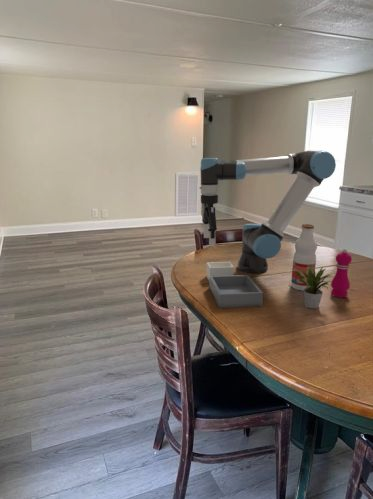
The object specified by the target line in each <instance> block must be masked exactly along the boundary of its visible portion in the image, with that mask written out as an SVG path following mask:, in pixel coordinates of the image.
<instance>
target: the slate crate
mask: <svg viewBox="0 0 373 499" xmlns="http://www.w3.org/2000/svg"><path fill="white" fill-rule="evenodd" d="M208 283H209V287H208V288H209V290H210V293H211V294H212V297H213V299H214V300H215V302H216V304H217V307H218V309H224V308H225V309H228V308H248V307H250V308H252V307H253V308H255V307H263V300H264V292H263V291H262V290H261V289H260V287H258V285H257V284H256V283H255V281H254V280H253V279H252V278H251V277H250V276H249V275H248V274H241V275H239V274H236V275H231V276H210V277H209V280H208Z"/></svg>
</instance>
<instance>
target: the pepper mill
mask: <svg viewBox="0 0 373 499" xmlns="http://www.w3.org/2000/svg"><path fill="white" fill-rule="evenodd" d="M352 259H353V257H352V255H351V254H350V253H348V250H347V249H346V248H343V249H342V252H338V253H337V255H336V257H335V261H336V264H335V267H336V272H335V274H334V276H333V277H332V280H331V281H333V282H330V286H331V288H332V289H331V291H330V294H331V296H333V295H334V296H333V297H335V296H337V297H336V298H339V297H345V298H346V296H347V297H348V293H349V292H348V290H349V289H350V286H351V282H350V280H349V276H348V270H349V269H350V264H351V263H352Z"/></svg>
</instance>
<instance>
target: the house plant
mask: <svg viewBox="0 0 373 499" xmlns="http://www.w3.org/2000/svg"><path fill="white" fill-rule="evenodd" d="M301 271H302V270H301ZM325 271H326V268H324V269H323V266H322V267H321V268H320V269H319V270H318V272H317V273H316V268H315V269H314V266H313V273H312V271H311V269H310V267H309V266H308V275H307V273H306V274H305V272H304V271H302V272H303V273H304V275H305V277H306V278H307V280H306V281H307V283H308V284H307V283H306V282H305V281H304V280H302V279H299V280H298V281H301V282H303V283H305V284H306V285H307V287H306V288H305V289H304V291H303V297H304V298H303V301H304V306H305V307H306V308H307V307H308V309H311V308H316V309H318V308H319V306H320V303H321V300H322V297H323V293H324V292H323V291H322V290H321V289H323V288H326V289H327V290H329V287H328V286H327V285H329V283H331V282H333V281H332V280H329V281H328V280H327V281H326V278H331V277H334V276H333V275H336V272H332V273H327V274H326V275H324V272H325ZM323 275H324V276H323Z"/></svg>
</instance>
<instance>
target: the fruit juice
mask: <svg viewBox="0 0 373 499" xmlns="http://www.w3.org/2000/svg"><path fill="white" fill-rule="evenodd" d="M314 229H315V226H314V225H313V224H311V223H309V224H308V223H303V224H301V230H302V231H301V233H300V236H299V237H298V238H297V239H296V241H295V243H294V250H295V251H294V254H293V260H292V271H291V281H290V286H291V288H292V289H294V290H297V291H303V292H304V289H305V288H306V287H307V285H306V284H305V283H303V282H301V281H298V280H299V279H302V280H304V281H305V282H306V283H307V281H306V280H307V278H306V277H305V275H304V273H303V272H302V271H304V272H305V274H306V273H307V275H308V266H309V267H310V269H311V271H312V273H313V266H314V269H315V270H316V262H317V255H316V251H317V249H318V243H317V241H316V239H315V237H314V232H313V231H314ZM301 270H302V271H301ZM307 284H308V283H307Z"/></svg>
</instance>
